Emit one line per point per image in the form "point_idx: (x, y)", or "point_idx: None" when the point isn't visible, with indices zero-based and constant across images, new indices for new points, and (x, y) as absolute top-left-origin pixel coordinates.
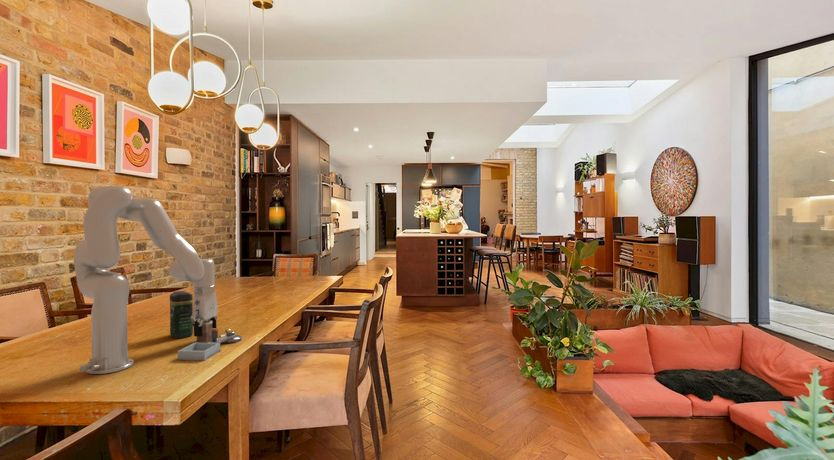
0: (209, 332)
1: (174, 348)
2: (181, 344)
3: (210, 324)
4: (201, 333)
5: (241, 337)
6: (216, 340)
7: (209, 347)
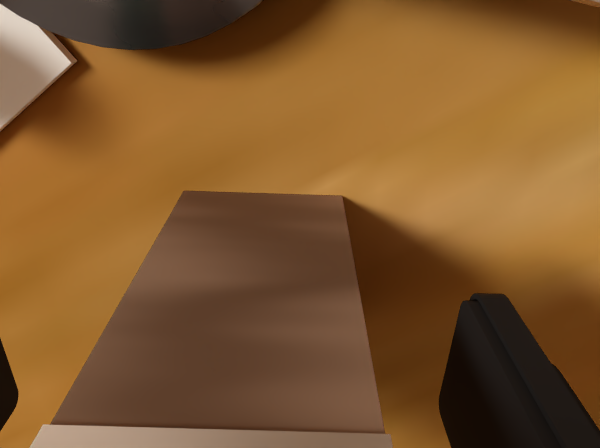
0: (240, 276)
1: None
2: None
3: (154, 409)
4: (528, 334)
5: None
6: None
7: None
